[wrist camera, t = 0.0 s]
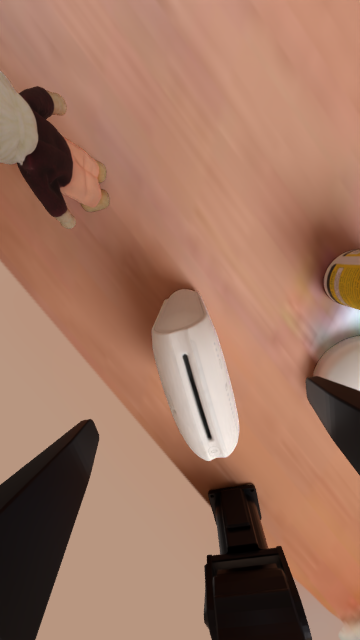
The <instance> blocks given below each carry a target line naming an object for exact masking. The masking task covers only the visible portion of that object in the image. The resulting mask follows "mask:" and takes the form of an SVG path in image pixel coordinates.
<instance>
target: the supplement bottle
mask: <svg viewBox="0 0 360 640" xmlns="http://www.w3.org/2000/svg"><path fill="white" fill-rule="evenodd" d="M324 288H325V291H326V293H327V295H328V296H329V297H330V298H331V299H332V300H333V301H335V302H337V303H339V304H342V305H345V306H348V307H352V308H355V309H359V310H360V249H356V250H351V251H348V252H345V253H343V254H341V255H340V256H338V257H337V258H336V259H335V260H334V261H333V262H332V263H331V264H330V266H329V267H328V269H327V271H326V273H325V277H324Z"/></svg>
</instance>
